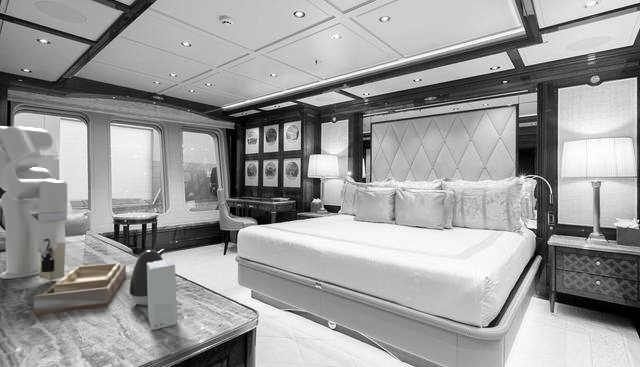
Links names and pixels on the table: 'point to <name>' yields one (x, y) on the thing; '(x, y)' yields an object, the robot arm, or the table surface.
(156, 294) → the skincare box
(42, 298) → the wooden serving tray
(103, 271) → the birch crate
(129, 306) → the table surface
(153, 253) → the black penguin figurine
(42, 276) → the skincare box
